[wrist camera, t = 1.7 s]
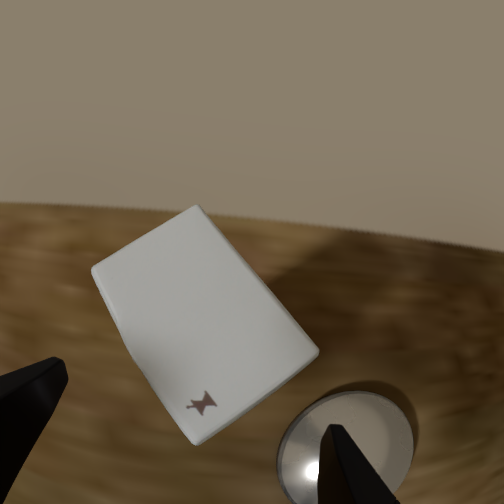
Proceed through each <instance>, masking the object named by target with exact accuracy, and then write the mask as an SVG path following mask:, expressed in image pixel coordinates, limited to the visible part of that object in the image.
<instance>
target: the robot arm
mask: <svg viewBox="0 0 504 504" xmlns="http://www.w3.org/2000/svg"><path fill="white" fill-rule="evenodd" d="M67 383H68V374H67V370H66V366H65V363H64V361H63V360H62V359H59V358H57V357H51V358H48V359H45V360H43V361H40V362H37V363H34V364H32V365H29V366H26V367H24V368H21V369H18V370H15V371H13V372H10V373H7V374H4V375H2V376H0V504H3V502H4V500H5V498H6V496H7V494H8V492H9V490H10V488H11V486H12V484H13V483H14V481H15V479H16V477H17V475H18V473H19V471H20V469H21V468H22V466H23V464H24V462H25V460H26V459H27V457H28V455H29V453H30V451H31V450H32V448H33V446H34V444H35V443H36V441H37V439H38V438H39V436H40V434H41V433H42V431H43V429H44V428H45V426H46V424H47V423H48V421H49V419H50V418H51V416H52V414H53V412H54V410H55V408H56V406H57V404H58V402H59V399H60V397H61V395H62V393H63V391H64V389H65V387H66V385H67ZM317 495H318V504H400V502H399V501H398V500H396V497H395V496H394V495H393V493H392V492H391V491H390V489H389V488H388V487H387V485H386V484H385V483H384V481H383V480H382V479H381V477H380V476H379V475H378V473H377V472H376V470H375V469H374V468H373V466H372V465H371V464H370V462H369V461H368V460H367V458H366V457H365V455H364V454H363V453H362V451H361V450H360V449H359V447H358V446H357V444H356V443H355V442H354V440H353V439H352V438H351V436H350V435H349V433H348V432H347V431H346V429H345V428H344V426H343V425H341V424H329V425H328V427H327V429H326V431H325V433H324V435H323V437H322V439H321V442H320V453H319V467H318V479H317Z"/></svg>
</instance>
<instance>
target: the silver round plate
mask: <svg viewBox="0 0 504 504" xmlns="http://www.w3.org/2000/svg"><path fill="white" fill-rule="evenodd" d="M329 424H341V425H343V426H344V428H345V429H346V431H347V432H348V433H349V435H350V436H351V438H352V439H353V440H354V442H355V443H356V444H357V446H358V447H359V449H360V450H361V451H362V453H363V454H364V455H365V457H366V458H367V460H368V461H369V462H370V464H371V465H372V466H373V468H374V469H375V470H376V472H377V473H378V475H379V476H380V477H381V479H382V480H383V481H384V483H385V484H386V485H387V487H388V488H389V489H390V491H391V492H392V493H394V492H395V491H396V490H397V489H398V487H399V486H400V485H401V483H402V482H403V480H404V478H405V477H406V475H407V472H408V470H409V468H410V464H411V461H412V456H413V447H414V442H413V434H412V429H411V426H410V424H409V421H408V419H407V418H406V416H405V414H404V413H403V412H402V410H401V409H400V408H399V407H398V406H397V405H396V404H395V403H393V402H392V401H391V400H389V399H387V398H386V397H384V396H382V395H379V394H376V393H372V392H367V391H347V392H341V393H335V394H332V395H329V396H326V397H324V398H322V399H319V400H317V401H316V402H314V403H312V404H311V405H309V406H308V407H307V408H305V409H304V410H303V411H302V412H301V413H299V414H298V415H297V416H296V417H295V419H294V420H293V421H292V422H291V423H290V425H289V426H288V428H287V429H286V431H285V433H284V435H283V437H282V439H281V441H280V444H279V447H278V452H277V458H276V468H277V475H278V479H279V482H280V484H281V487H282V489H283V491H284V493H285V494H286V496H287V497H288V499H289V500H290V501H291V502H292V503H293V504H318V495H317V479H318V467H319V453H320V442H321V439H322V437H323V435H324V433H325V431H326V429H327V427H328V425H329Z"/></svg>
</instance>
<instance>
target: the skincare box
mask: <svg viewBox="0 0 504 504" xmlns="http://www.w3.org/2000/svg"><path fill="white" fill-rule="evenodd" d="M91 272H92V276H93V278H94V280H95V283H96V285H97V287H98V289H99V291H100V293H101V295H102V297H103V299H104V301H105V303H106V306H107V308H108V310H109V312H110V314H111V316H112V318H113V320H114V321H115V323H116V326H117V328H118V330H119V332H120V334H121V336H122V339H123V341H124V343H125V345H126V347H127V349H128V351H129V353H130V355H131V356H132V358H133V360H134V361H135V363H136V364H137V365H138V367H139V368H140V370H141V371H142V373H143V374H144V376H145V377H146V379H147V381H148V382H149V384H150V385H151V387H152V388H153V390H154V391H155V393H156V395H157V396H158V398H159V399H160V401H161V402H162V403H163V405H164V406H165V408H166V409H167V411H168V412H169V414H170V415H171V416H172V418H173V419H174V421H175V422H176V423H177V425H178V426H179V427H180V429H181V430H182V431H183V433H184V434H185V435H186V437H187V438H188V439H189V440H190V442H191V443H192V444H194V445H200V444H202V443H203V442H205V441H206V440H208V439H209V438H211V437H212V436H214V435H215V434H217V433H218V432H220V431H221V430H223V429H224V428H225V427H227V426H228V425H230V424H231V423H233V422H234V421H236V420H237V419H238V418H240V417H241V416H243V415H244V414H245V413H247V412H248V411H250V410H251V409H252V408H254V407H255V406H256V405H258V404H259V403H261V402H262V401H263V400H265V399H266V398H267V397H269V396H270V395H271V394H272V393H274V392H275V391H276V390H278V389H279V388H280V387H281V386H283V385H284V384H285V383H287V382H288V381H289V380H290V379H292V378H293V377H294V376H295V375H296V374H298V373H299V372H300V371H301V370H303V369H304V368H305V367H306V366H307V365H309V364H310V363H311V362H312V361H313V360H314V359H315V358H316V357H317V356H318V355H319V349H318V347H317V346H316V345H315V344H314V343H313V341H312V340H311V339H310V338H309V336H308V335H307V334H306V333H305V332H304V330H303V329H302V328H301V327H300V325H299V324H298V323H297V322H296V321H295V319H294V318H293V317H292V316H291V314H290V313H289V312H288V311H287V310H286V308H285V307H284V306H283V305H282V304H281V302H280V301H279V300H278V299H277V297H276V296H275V295H274V294H273V293H272V291H271V290H270V289H269V288H268V287H267V286H266V284H265V283H264V282H263V281H262V280H261V279H260V277H259V276H258V275H257V274H256V273H255V272H254V270H253V269H252V268H251V267H250V266H249V265H248V263H247V262H246V261H245V260H244V259H243V258H242V257H241V255H240V254H239V253H238V252H237V251H236V249H235V248H234V247H233V246H232V245H231V243H230V242H229V241H228V240H227V238H226V237H225V236H224V235H223V234H222V232H221V231H220V230H219V229H218V228H217V226H216V225H215V224H214V223H213V222H212V220H211V219H210V218H209V217H208V215H207V214H206V213H205V212H204V210H203V209H202V208H201V206H200V205H198V204H196V205H194V206H192V207H190V208H189V209H187V210H185V211H184V212H182V213H180V214H179V215H177V216H175V217H174V218H172V219H170V220H169V221H167V222H165V223H164V224H162V225H160V226H159V227H157V228H155V229H154V230H152V231H150V232H148V233H147V234H145V235H143V236H142V237H140V238H138V239H137V240H135V241H133V242H132V243H130V244H128V245H127V246H125V247H124V248H122V249H120V250H119V251H117V252H115V253H114V254H112V255H111V256H109V257H107V258H106V259H104V260H102V261H101V262H99V263H97V264H96V265H94V266H93V267H92V270H91Z"/></svg>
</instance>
